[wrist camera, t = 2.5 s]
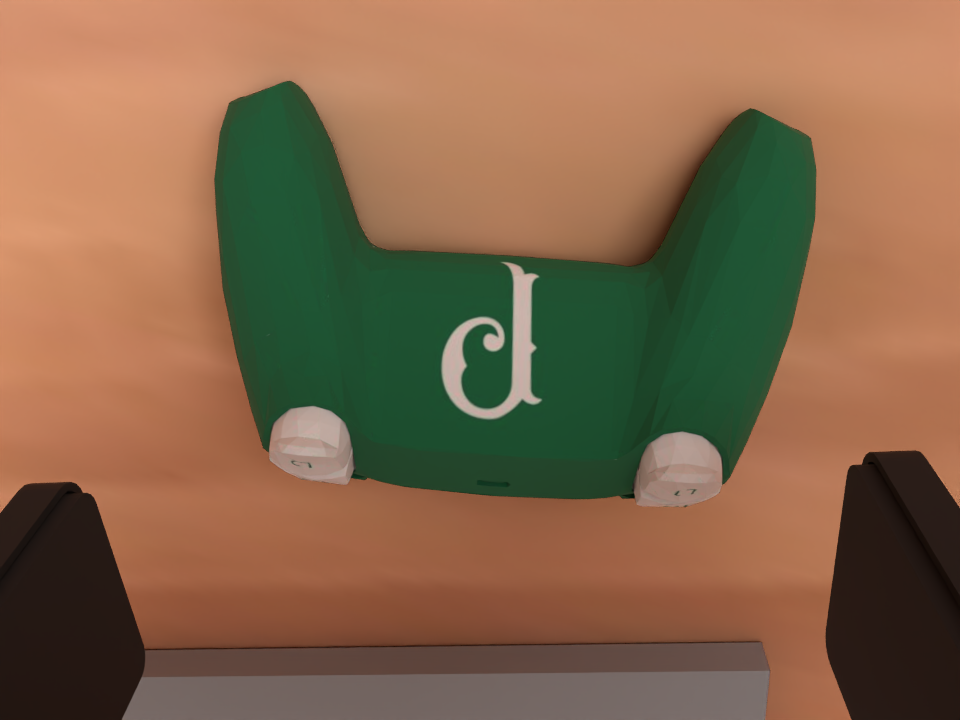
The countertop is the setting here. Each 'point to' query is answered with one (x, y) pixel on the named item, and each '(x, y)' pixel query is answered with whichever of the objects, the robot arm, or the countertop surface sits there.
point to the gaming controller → (507, 327)
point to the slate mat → (457, 683)
